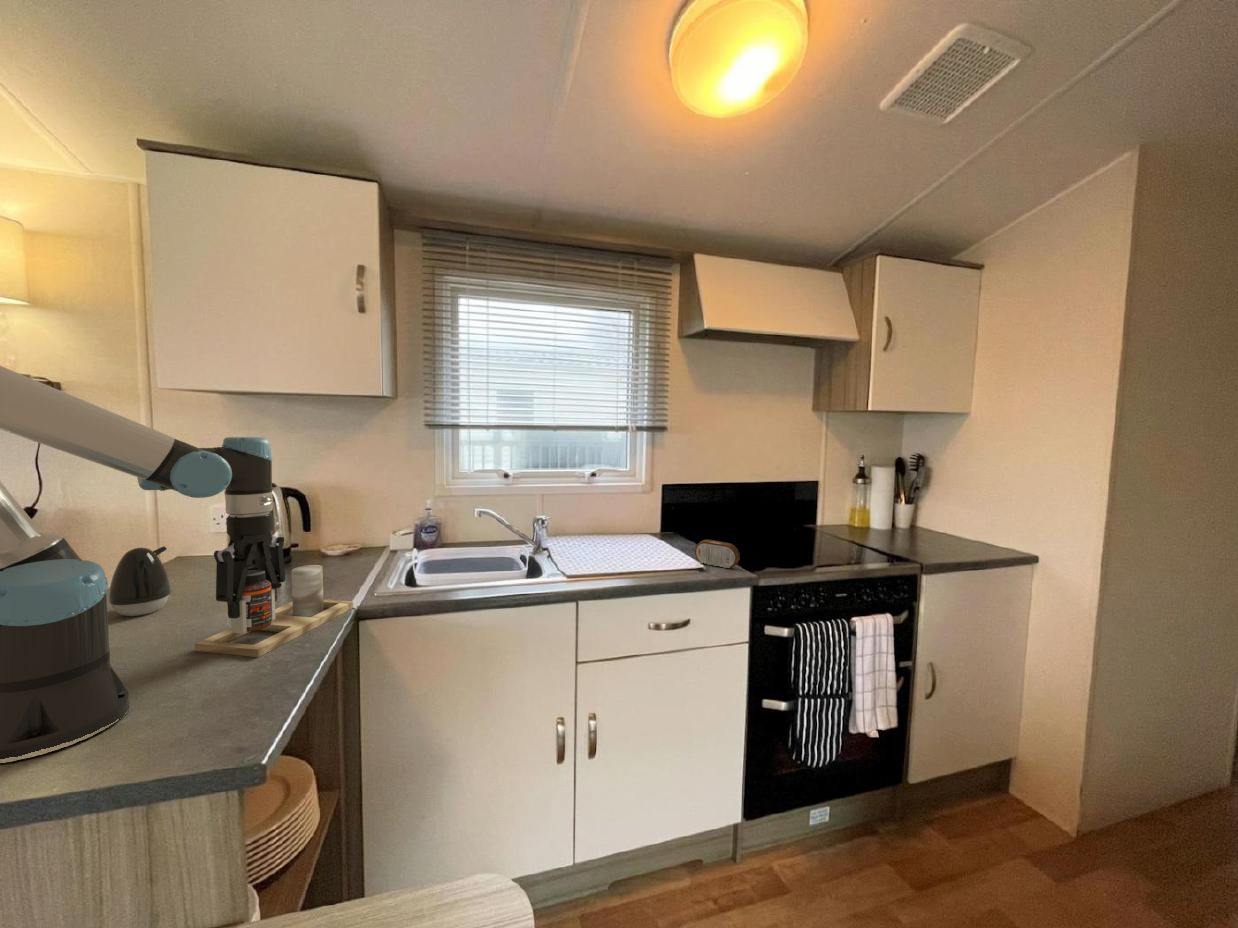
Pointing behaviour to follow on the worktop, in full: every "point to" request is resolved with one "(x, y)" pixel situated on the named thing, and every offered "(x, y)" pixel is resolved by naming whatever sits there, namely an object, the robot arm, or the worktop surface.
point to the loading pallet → (285, 617)
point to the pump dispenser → (139, 583)
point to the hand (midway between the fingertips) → (254, 625)
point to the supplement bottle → (257, 600)
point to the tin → (717, 553)
